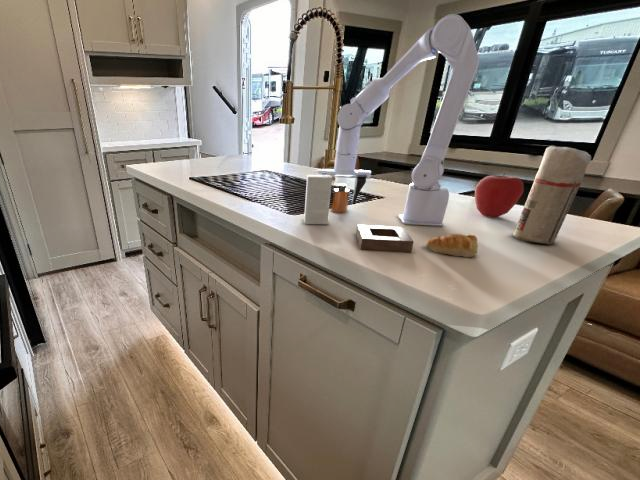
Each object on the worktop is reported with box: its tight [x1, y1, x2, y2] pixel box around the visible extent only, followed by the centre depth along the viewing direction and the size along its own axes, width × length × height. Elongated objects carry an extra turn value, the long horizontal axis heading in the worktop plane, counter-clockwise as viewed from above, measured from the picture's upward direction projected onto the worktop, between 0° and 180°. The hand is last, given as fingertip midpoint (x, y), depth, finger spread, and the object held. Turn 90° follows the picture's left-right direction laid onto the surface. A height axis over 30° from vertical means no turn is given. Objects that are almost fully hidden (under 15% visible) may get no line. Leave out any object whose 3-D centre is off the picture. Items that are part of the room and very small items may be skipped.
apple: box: [474, 172, 525, 218], centre depth 99 cm, size 11×11×12 cm
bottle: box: [331, 183, 350, 213], centre depth 105 cm, size 4×4×8 cm
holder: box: [355, 224, 415, 253], centre depth 81 cm, size 10×10×2 cm
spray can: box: [512, 145, 592, 245], centre depth 79 cm, size 8×8×20 cm
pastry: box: [425, 233, 479, 258], centre depth 76 cm, size 9×7×4 cm
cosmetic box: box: [303, 174, 333, 225], centre depth 93 cm, size 6×4×12 cm
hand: (339, 203), depth 106 cm, fingers open, 7 cm apart
